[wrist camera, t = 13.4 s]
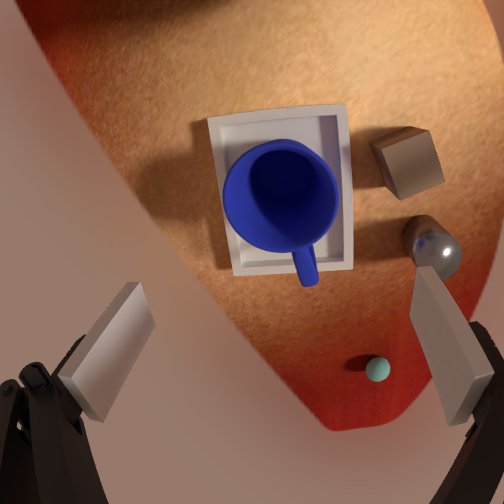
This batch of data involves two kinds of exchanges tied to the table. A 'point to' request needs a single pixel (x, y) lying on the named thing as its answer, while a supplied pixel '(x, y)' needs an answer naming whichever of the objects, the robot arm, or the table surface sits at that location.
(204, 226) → the table surface
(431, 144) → the walnut block
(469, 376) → the robot arm
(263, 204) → the mug
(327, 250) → the tray
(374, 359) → the ball
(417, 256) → the tin
